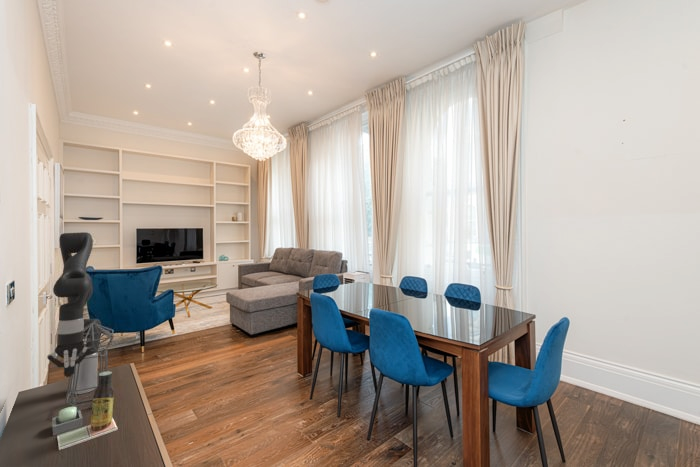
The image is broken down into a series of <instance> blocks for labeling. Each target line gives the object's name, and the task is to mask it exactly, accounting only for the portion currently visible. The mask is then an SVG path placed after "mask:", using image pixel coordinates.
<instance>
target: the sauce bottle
mask: <svg viewBox="0 0 700 467" xmlns="http://www.w3.org/2000/svg"><path fill="white" fill-rule="evenodd" d="M112 376H113V372H112V371H109V370H107V372H105V371H103V372H102V371H101V373H100V372H99V374H98V375H97V379H98V382H97V386H98V387H97V388H96V389H94V390H95V391H94V393H93V396H92V398H93V400H92V402H93V403H91V404H92V405H91V407H92V408H91V418H90V425H91V429H92V430H95V431H96V430H101V429H105V428H107V427H108V426H109V425H110V424H111V421H112V418H113V409H114V397H115V396H114V395H115V394H114V391H115V390H114V387H113V386H112Z"/></svg>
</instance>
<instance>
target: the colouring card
mask: <svg viewBox="0 0 700 467" xmlns="http://www.w3.org/2000/svg"><path fill="white" fill-rule="evenodd" d="M118 430H119V429H118V426H117V424H116V421H115V420H114V418H113V417H112V421H111V424H110V425H109V426H108V427H107V428H105V429H101V430H96V431H95V430H92V429H91V424H89V425H86V426H82V427H79V428H76V429H73V430H70V431H67V432H64V433H61V434H58V435H56V436H57V437H56V438H57V443H58V451H61V449H62V450H64V449H67V448H70V447H73V446H75V445H78V444H81V443H84V442H88V441H91V440H93V439H96V438H98V437H101V436H104V435H107V434H109V433H113V432H116V431H118Z"/></svg>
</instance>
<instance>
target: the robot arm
mask: <svg viewBox="0 0 700 467" xmlns="http://www.w3.org/2000/svg"><path fill="white" fill-rule="evenodd" d="M58 241H59V249H60V253H61V257H62V263H63V268H62V269H63V270H62V274H61V275H60V276H59V277H58V279H57V280H56V281H55V283H54V285H53V289H52V290H53V295H55V297H58V298H60V299H61V298H67V302H66V303H63V304H60V306H59V309H58V324H57V329H56V332H57V333H56V334H57V335H56V347H55V348H54V351H53V352H52V353H49V354H48V355H47V357H46V358H47V360H48V361H50V362H51V363H52V364H54V365H56V367H58V368H63V376H64V377H66V378H69V377H70V376H71V377H72V374H73V377H74V366H75V365H76V373H75V385H76V378H77V371H78V364H79V363H80V367H79V375H78V382H77V389H76V390H81V389H86V388H91V387H97V386H98V376H99V374H98V372H99V371H98V370H99V357H96V356H99V354H98V353H97V351H96V350H95V349H94V347H92V348H90V346H93V345H92V342H88V343H87V344H86V343H85V344H86V346H85V345H84V343H83V340H84V339H85V338H83V336H84V337H85V336H86V335H83V334H84V333H87V332H88V330H89V328H90V327H89V328H88V329H87V330H85V331H84V327H85V326H86V325H88V324H90V323H96V324H99V325H101V326H102V322H101V320H100V319H98V318H84V312H85V311H84V309H85V306H86V304H87V303H88V302H89V300H90V299H91V298H92V295H93V292H94V290H93V289H94V288H93V281H92V280H93V279H92V277H91V276H90V275H89V274H88V273H87V263H88V261H89V259H90V257H91V253H92V250H93V248H94V247H93V246H94V245H93V244H94V242H93V237H92V234H91V233H89V232H82V231H81V232H63V233H62V234H60V235H59V240H58ZM72 254H73V255H72ZM96 328H97V327H96ZM90 330H91V329H90ZM97 330H98V332H101V331H100V330H99V329H98V328H97ZM89 333H90V331H89ZM91 333H92V332H91ZM93 333H97V331H96V330H95V328H94V326H93ZM101 335H102V333H99V337H100V336H101ZM97 337H98V334H94V339H97ZM99 337H98V338H99ZM87 338H90V335H88V336H87ZM90 339H92V334H91V338H90ZM85 341H88V339H86V340H85ZM89 341H91V340H89ZM99 342H101V340H99ZM99 342H98V341H94V342H93V344H94V345H96V344H98V343H99ZM95 347H96V349H100V348H99V347H100V344H98V345H97V346H95ZM82 349H83V352H81V351H82ZM91 350H95V351H91ZM80 352H81V355H80V354H79V353H80ZM78 354H79V356H78ZM57 356H59V357H60V358H61V359H63V362H62V361H61V360H59V359H58V358H57ZM77 356H78V357H77ZM76 357H77V358H76ZM89 357H95V358H89ZM69 358H70V359H69ZM84 358H88V359H84ZM76 359H77V360H76ZM75 385H74V391H75ZM72 389H73V380H72V386H71V392H72ZM96 389H97V388H93V389H88V390H82V391H77V392H76V395H84V394H87V393H90V392H92V391H94V390H96ZM74 395H75V392H74Z"/></svg>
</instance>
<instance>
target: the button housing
mask: <svg viewBox="0 0 700 467" xmlns="http://www.w3.org/2000/svg"><path fill="white" fill-rule="evenodd" d="M80 410H81V409H78V411H76V419H75V420H71V421H68V422H65V423H62V424H58V422H59V415H57V416H55V417H52V419H51V420H52V422H51V429H52V436H53V437H54V436H57V435H60V434H63V433H66V432H70V431H73V430H76V429H79V428H82V427H83V421H84V420H83V415H82V410H81V411H80Z"/></svg>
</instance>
